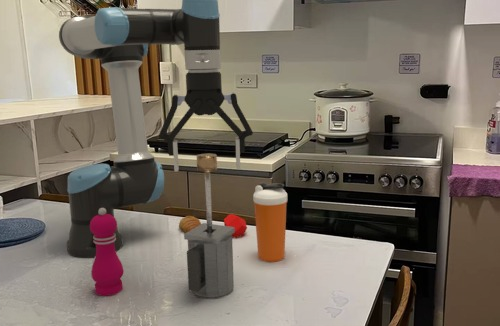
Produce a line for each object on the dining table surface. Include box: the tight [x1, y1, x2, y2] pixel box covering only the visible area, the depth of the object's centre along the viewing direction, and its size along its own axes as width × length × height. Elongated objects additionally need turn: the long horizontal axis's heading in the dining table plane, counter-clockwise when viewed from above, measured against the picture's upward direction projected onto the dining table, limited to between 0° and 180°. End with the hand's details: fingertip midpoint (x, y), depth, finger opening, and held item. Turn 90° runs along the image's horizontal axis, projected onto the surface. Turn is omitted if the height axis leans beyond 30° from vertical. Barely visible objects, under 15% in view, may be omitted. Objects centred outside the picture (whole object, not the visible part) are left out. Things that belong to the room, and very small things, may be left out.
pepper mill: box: [90, 208, 124, 297], centre depth 121 cm, size 7×7×20 cm
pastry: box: [178, 215, 202, 234], centre depth 162 cm, size 9×7×4 cm
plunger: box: [196, 153, 218, 233], centre depth 118 cm, size 7×7×20 cm
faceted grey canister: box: [183, 222, 235, 300], centre depth 119 cm, size 10×13×14 cm
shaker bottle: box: [252, 181, 288, 263], centre depth 138 cm, size 9×9×20 cm
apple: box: [223, 213, 248, 238], centre depth 158 cm, size 7×7×8 cm
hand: (207, 168), depth 116 cm, fingers open, 13 cm apart
